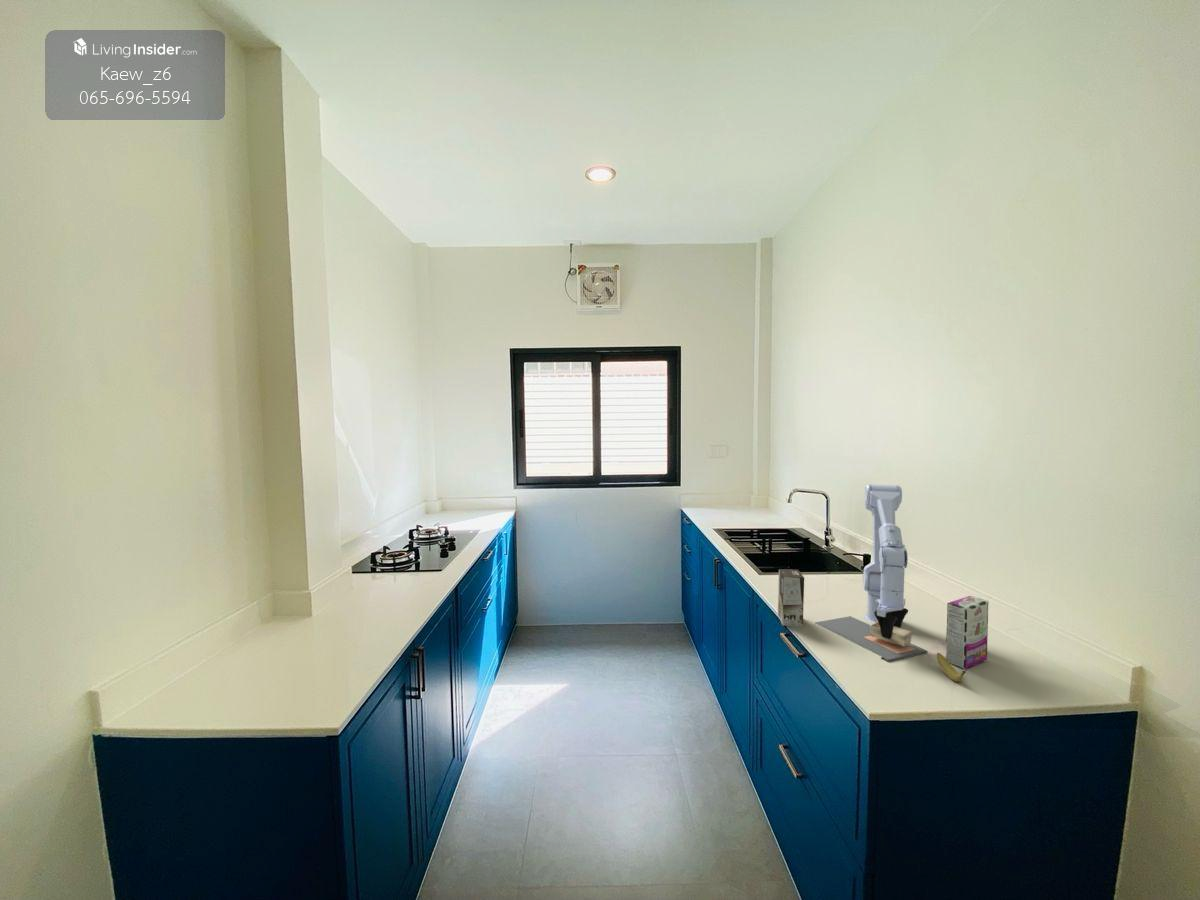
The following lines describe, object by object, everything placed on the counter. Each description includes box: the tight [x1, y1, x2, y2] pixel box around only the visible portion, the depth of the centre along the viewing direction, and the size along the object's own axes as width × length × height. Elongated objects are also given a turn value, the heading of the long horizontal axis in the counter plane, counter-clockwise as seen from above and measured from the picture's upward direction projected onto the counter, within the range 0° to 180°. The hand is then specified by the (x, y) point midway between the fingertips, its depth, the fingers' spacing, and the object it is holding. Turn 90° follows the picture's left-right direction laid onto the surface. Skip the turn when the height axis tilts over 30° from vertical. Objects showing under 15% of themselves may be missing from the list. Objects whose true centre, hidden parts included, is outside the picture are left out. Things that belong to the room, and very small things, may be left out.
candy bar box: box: [945, 595, 989, 670], centre depth 131 cm, size 11×5×16 cm, turn 117°
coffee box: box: [777, 568, 805, 628], centre depth 157 cm, size 9×6×16 cm
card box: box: [869, 621, 912, 646], centre depth 141 cm, size 9×5×3 cm, turn 38°
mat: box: [814, 615, 928, 663], centre depth 146 cm, size 15×26×1 cm, turn 20°
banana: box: [935, 652, 967, 683], centre depth 123 cm, size 10×2×4 cm, turn 177°
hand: (890, 635), depth 141 cm, fingers closed on card box, 5 cm apart
